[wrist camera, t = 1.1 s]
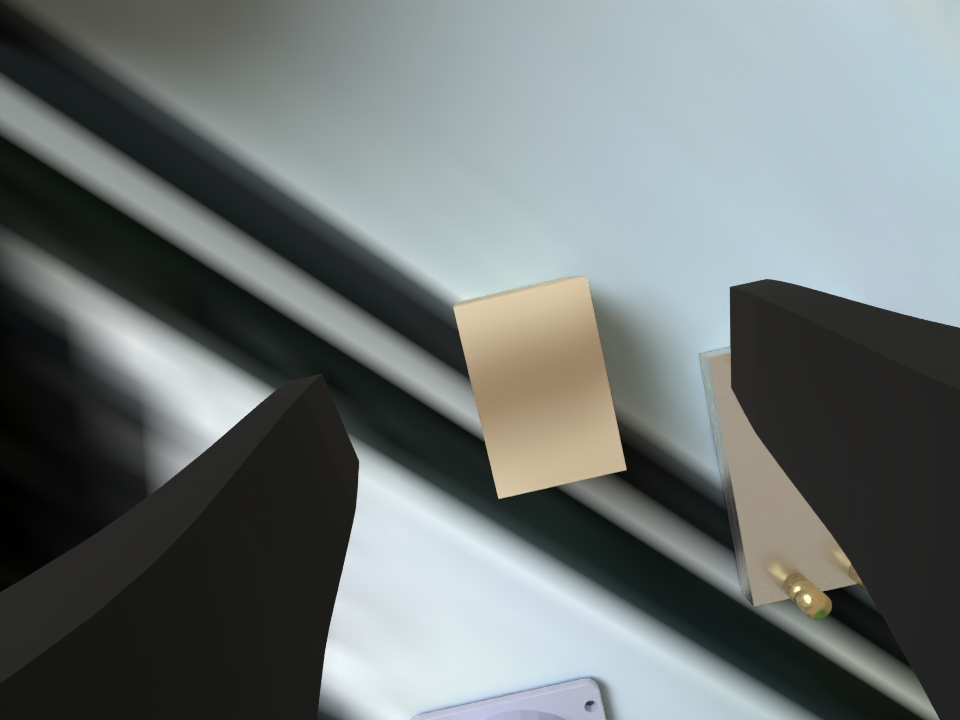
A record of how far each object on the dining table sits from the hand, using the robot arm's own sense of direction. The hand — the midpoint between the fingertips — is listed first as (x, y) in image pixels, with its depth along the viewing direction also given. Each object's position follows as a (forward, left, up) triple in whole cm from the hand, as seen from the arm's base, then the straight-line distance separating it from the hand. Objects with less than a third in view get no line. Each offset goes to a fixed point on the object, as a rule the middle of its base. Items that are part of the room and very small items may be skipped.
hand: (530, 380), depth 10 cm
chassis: (-8, -10, -12) cm, 17 cm away
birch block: (-2, -1, -12) cm, 12 cm away
